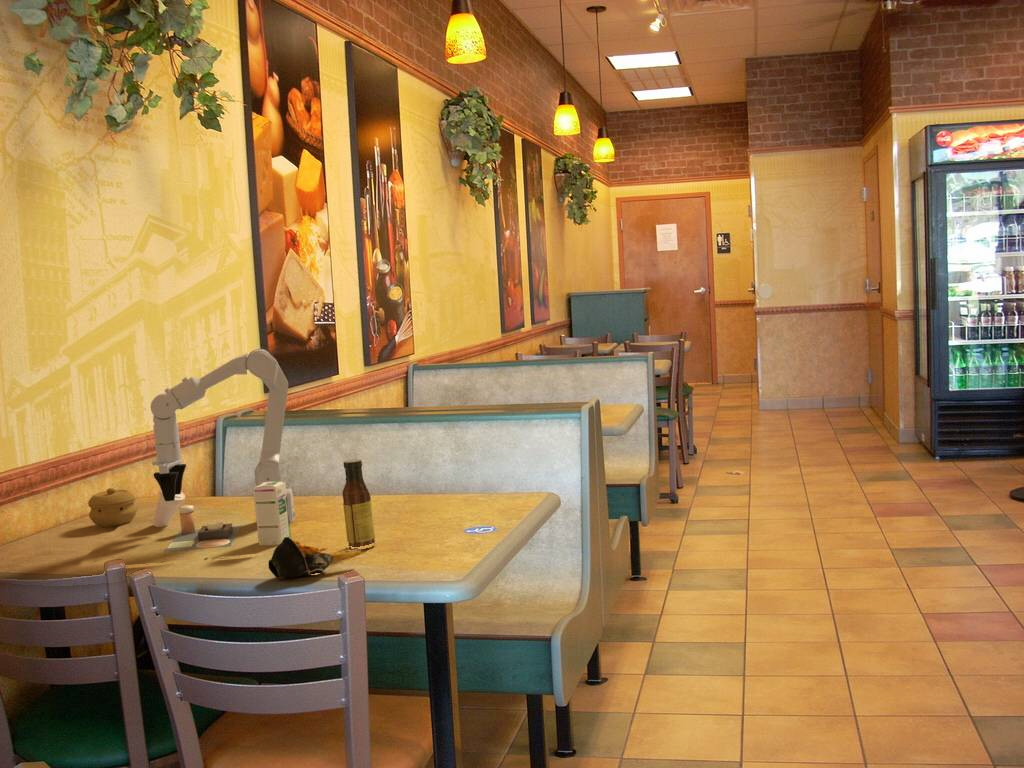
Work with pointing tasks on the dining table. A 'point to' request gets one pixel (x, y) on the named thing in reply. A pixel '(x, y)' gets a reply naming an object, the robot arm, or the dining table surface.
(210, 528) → the button
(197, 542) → the picture board
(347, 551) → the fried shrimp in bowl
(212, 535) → the button collar
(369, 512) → the sauce bottle
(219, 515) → the dining table surface
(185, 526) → the terracotta marker
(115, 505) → the pot
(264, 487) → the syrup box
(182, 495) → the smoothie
